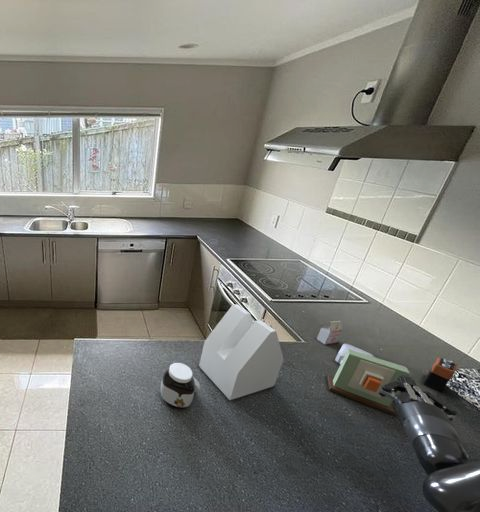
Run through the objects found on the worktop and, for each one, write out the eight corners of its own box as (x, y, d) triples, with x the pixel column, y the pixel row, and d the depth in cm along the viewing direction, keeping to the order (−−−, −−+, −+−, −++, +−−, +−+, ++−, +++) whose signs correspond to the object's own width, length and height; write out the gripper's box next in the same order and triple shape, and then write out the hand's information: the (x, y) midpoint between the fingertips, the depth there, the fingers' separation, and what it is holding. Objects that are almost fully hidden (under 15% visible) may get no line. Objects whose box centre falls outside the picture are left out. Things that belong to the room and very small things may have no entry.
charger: (330, 368, 105) (339, 351, 114) (362, 384, 98) (369, 365, 107) (334, 358, 103) (344, 342, 112) (367, 373, 96) (375, 355, 105)
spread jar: (157, 402, 88) (162, 374, 83) (163, 377, 98) (167, 350, 93) (197, 416, 84) (204, 387, 80) (199, 388, 94) (205, 361, 89)
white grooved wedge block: (239, 355, 109) (255, 300, 100) (273, 386, 96) (296, 325, 86) (198, 366, 103) (212, 308, 94) (229, 400, 90) (248, 337, 80)
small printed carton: (316, 338, 121) (324, 319, 117) (328, 337, 122) (337, 318, 118) (324, 344, 117) (333, 324, 114) (337, 342, 119) (346, 323, 115)
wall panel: (387, 399, 93) (408, 363, 87) (393, 416, 87) (416, 379, 81) (327, 377, 101) (343, 343, 95) (329, 391, 95) (346, 356, 89)
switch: (374, 388, 87) (379, 379, 86) (376, 392, 86) (381, 383, 85) (363, 384, 89) (368, 376, 87) (365, 388, 87) (369, 379, 86)
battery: (443, 384, 100) (458, 362, 96) (440, 392, 96) (456, 370, 92) (426, 376, 103) (440, 354, 99) (422, 383, 99) (436, 362, 96)
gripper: (488, 436, 54) (449, 378, 67) (394, 403, 60) (376, 356, 74) (467, 461, 57) (433, 401, 70) (380, 426, 63) (364, 377, 77)
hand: (404, 378), depth 72 cm, fingers closed
